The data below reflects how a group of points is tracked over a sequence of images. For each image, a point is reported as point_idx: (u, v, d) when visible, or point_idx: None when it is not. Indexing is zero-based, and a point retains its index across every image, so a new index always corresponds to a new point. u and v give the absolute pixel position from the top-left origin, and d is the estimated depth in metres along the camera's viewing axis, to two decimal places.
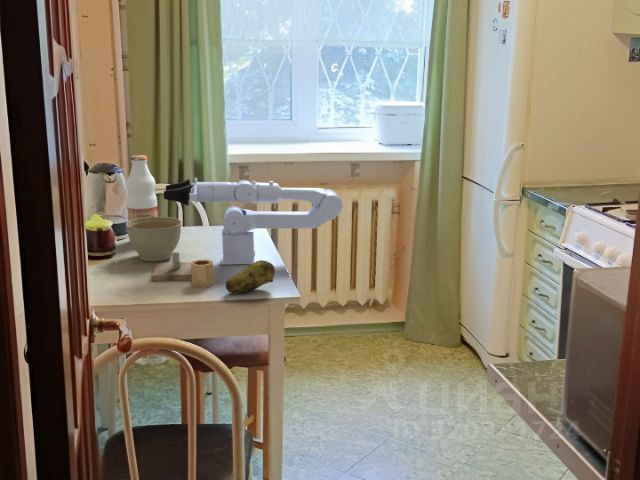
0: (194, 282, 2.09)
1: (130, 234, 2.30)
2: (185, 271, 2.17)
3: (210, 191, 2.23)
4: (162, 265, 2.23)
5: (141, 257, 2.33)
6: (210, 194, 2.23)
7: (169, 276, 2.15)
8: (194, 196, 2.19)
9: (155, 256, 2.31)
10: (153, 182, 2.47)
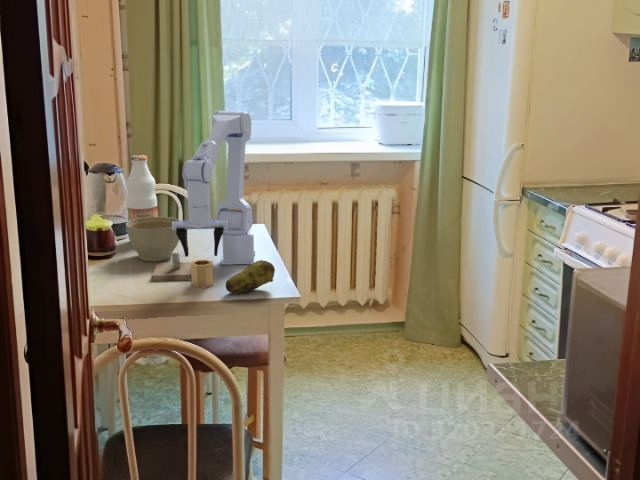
0: (194, 282, 2.09)
1: (130, 234, 2.30)
2: (185, 271, 2.17)
3: (209, 208, 2.06)
4: (162, 265, 2.23)
5: (141, 257, 2.33)
6: None
7: (169, 276, 2.15)
8: (227, 223, 2.07)
9: (155, 256, 2.31)
10: (153, 182, 2.47)
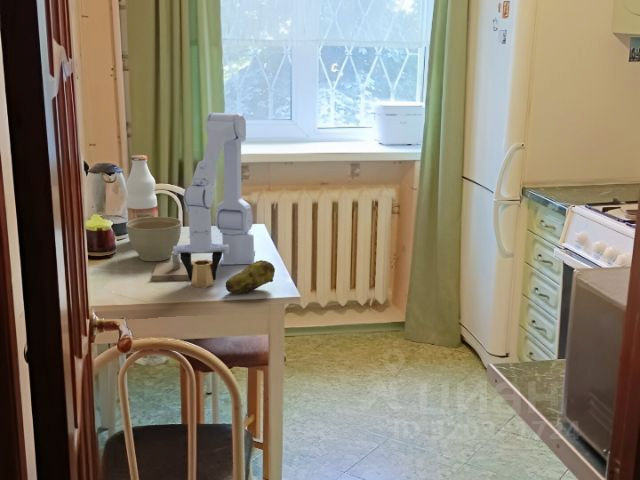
0: (194, 282, 2.09)
1: (130, 234, 2.30)
2: (185, 271, 2.17)
3: (210, 232, 2.07)
4: (162, 265, 2.23)
5: (141, 257, 2.33)
6: None
7: (169, 276, 2.15)
8: (228, 247, 2.09)
9: (155, 256, 2.31)
10: (153, 182, 2.47)
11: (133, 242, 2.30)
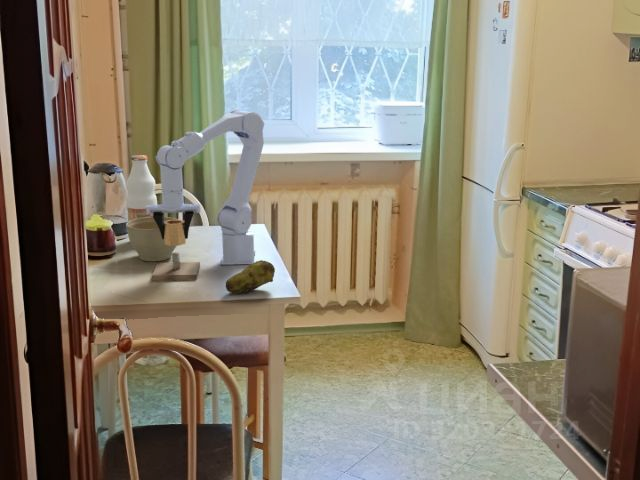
0: (167, 241, 2.16)
1: (130, 234, 2.30)
2: (185, 271, 2.17)
3: (182, 192, 2.14)
4: (162, 265, 2.23)
5: (141, 257, 2.33)
6: None
7: (169, 276, 2.15)
8: (199, 207, 2.16)
9: (155, 256, 2.31)
10: (153, 182, 2.47)
11: (133, 242, 2.30)
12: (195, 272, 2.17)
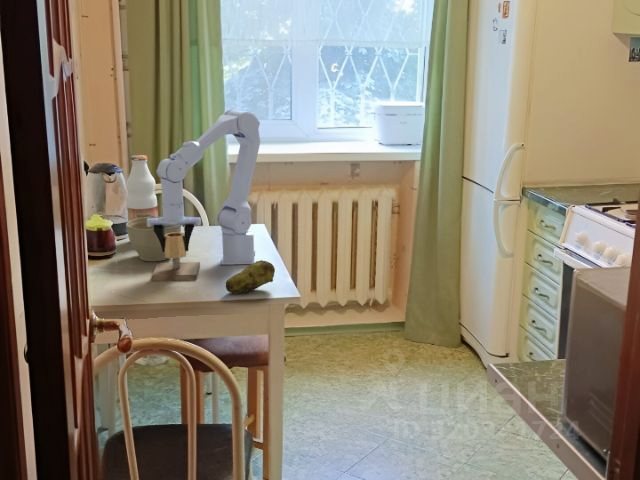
0: (167, 253, 2.17)
1: (130, 234, 2.30)
2: (185, 271, 2.17)
3: (182, 205, 2.15)
4: (162, 265, 2.23)
5: (141, 257, 2.33)
6: (183, 205, 2.16)
7: (169, 276, 2.15)
8: (200, 220, 2.17)
9: (155, 256, 2.31)
10: (153, 182, 2.47)
11: (133, 242, 2.30)
12: (195, 272, 2.17)
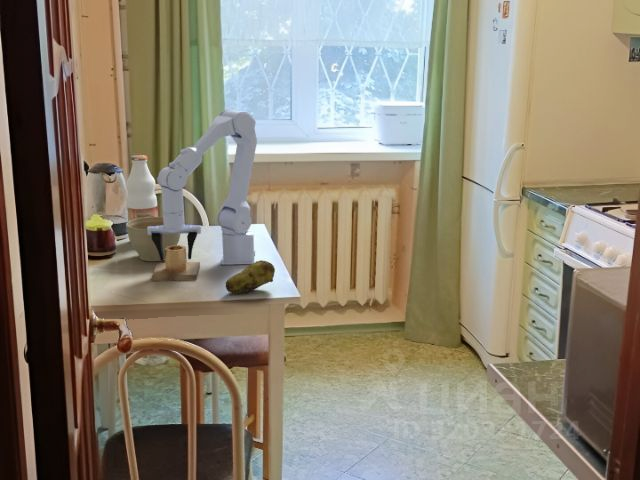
0: (168, 266, 2.18)
1: (130, 234, 2.30)
2: (185, 271, 2.17)
3: (183, 213, 2.16)
4: (162, 265, 2.23)
5: (141, 257, 2.33)
6: (183, 213, 2.16)
7: (169, 276, 2.15)
8: (200, 228, 2.18)
9: (155, 256, 2.31)
10: (153, 182, 2.47)
11: (133, 242, 2.30)
12: (195, 272, 2.17)
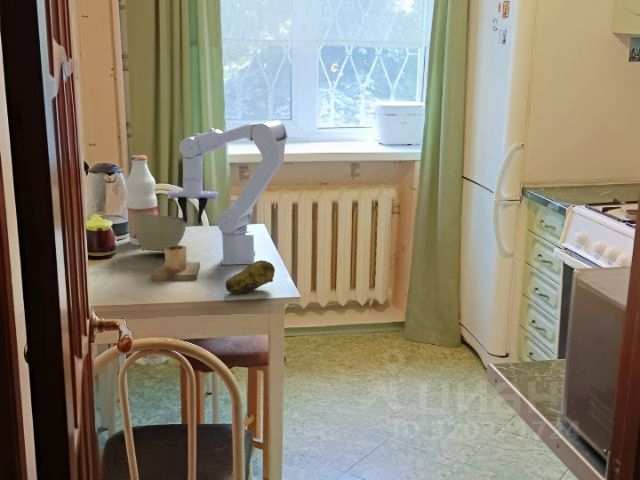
0: (168, 266, 2.18)
1: (141, 222, 2.31)
2: (185, 271, 2.17)
3: (202, 180, 2.31)
4: (162, 265, 2.23)
5: (147, 247, 2.33)
6: (202, 179, 2.31)
7: (169, 276, 2.15)
8: (217, 194, 2.33)
9: (163, 246, 2.33)
10: (153, 182, 2.47)
11: (143, 230, 2.31)
12: (195, 272, 2.17)
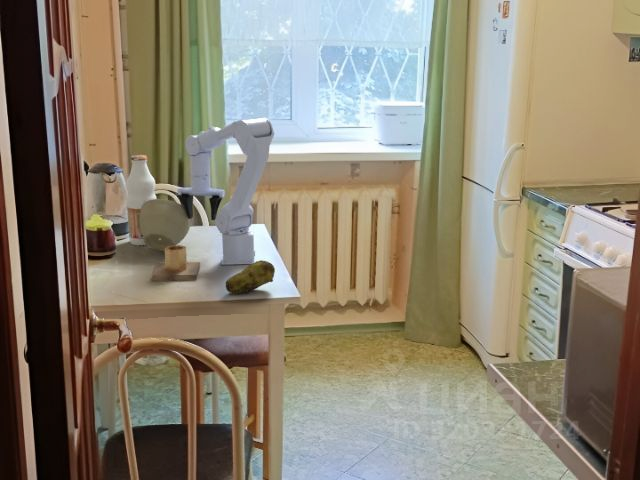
0: (168, 266, 2.18)
1: (149, 206, 2.38)
2: (185, 271, 2.17)
3: (208, 177, 2.35)
4: (162, 265, 2.23)
5: (151, 231, 2.35)
6: (209, 177, 2.36)
7: (169, 276, 2.15)
8: (223, 192, 2.35)
9: (167, 231, 2.36)
10: (153, 182, 2.47)
11: (151, 212, 2.36)
12: (195, 272, 2.17)
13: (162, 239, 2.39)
